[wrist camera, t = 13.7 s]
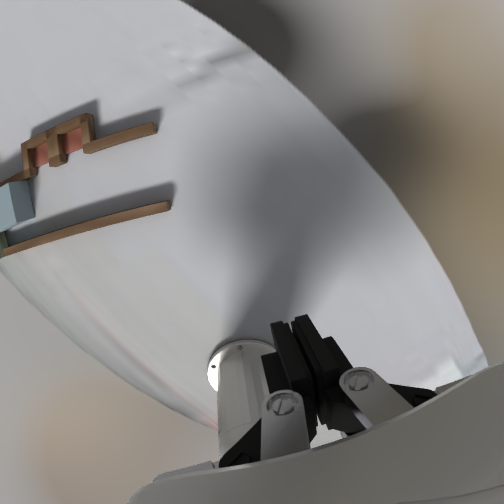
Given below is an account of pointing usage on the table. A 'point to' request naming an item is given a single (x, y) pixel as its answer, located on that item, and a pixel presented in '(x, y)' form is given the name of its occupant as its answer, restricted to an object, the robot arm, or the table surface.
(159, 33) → the table surface
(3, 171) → the table surface
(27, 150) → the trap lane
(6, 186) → the slate block
